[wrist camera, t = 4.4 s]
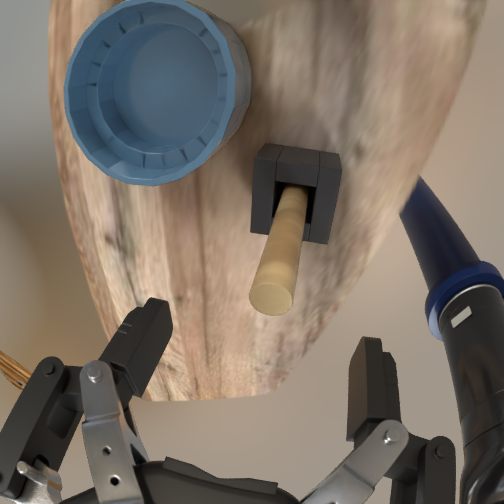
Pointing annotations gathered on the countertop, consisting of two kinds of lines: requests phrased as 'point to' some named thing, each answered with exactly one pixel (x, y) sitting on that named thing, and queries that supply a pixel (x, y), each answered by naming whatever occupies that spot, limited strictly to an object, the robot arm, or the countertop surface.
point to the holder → (298, 172)
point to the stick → (281, 254)
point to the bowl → (156, 89)
